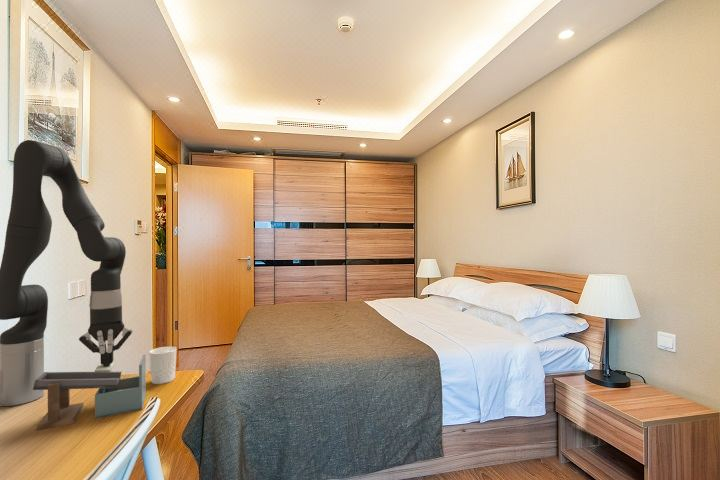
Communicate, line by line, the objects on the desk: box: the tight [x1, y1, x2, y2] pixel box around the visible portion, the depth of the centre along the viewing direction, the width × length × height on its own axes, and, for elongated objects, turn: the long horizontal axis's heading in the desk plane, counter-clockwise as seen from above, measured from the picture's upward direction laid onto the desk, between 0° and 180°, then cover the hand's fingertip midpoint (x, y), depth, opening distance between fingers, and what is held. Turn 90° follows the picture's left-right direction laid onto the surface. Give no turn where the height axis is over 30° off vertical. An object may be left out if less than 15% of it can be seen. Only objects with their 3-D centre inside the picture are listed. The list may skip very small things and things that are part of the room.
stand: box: [36, 383, 85, 431], centre depth 89 cm, size 7×10×10 cm
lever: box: [33, 362, 122, 391], centre depth 94 cm, size 17×14×3 cm
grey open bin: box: [94, 354, 147, 419], centre depth 95 cm, size 10×10×12 cm
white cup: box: [148, 345, 178, 385], centre depth 113 cm, size 8×8×10 cm
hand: (107, 365), depth 100 cm, fingers closed
